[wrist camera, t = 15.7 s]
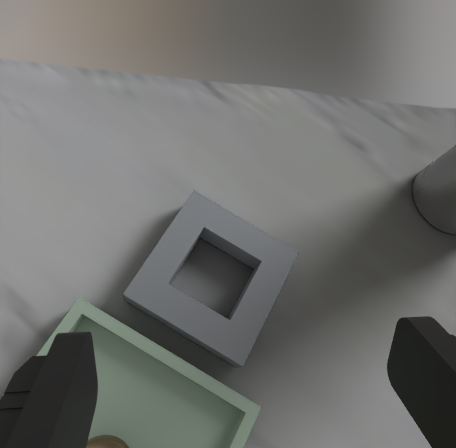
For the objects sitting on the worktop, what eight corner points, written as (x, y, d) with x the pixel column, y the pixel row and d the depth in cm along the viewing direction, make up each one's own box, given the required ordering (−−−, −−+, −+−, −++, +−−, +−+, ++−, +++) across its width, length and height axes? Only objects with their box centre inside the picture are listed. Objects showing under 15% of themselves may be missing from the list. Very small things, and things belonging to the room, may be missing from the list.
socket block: (288, 260, 41) (299, 252, 38) (235, 367, 36) (243, 366, 33) (190, 202, 41) (193, 190, 38) (124, 300, 36) (122, 294, 33)
